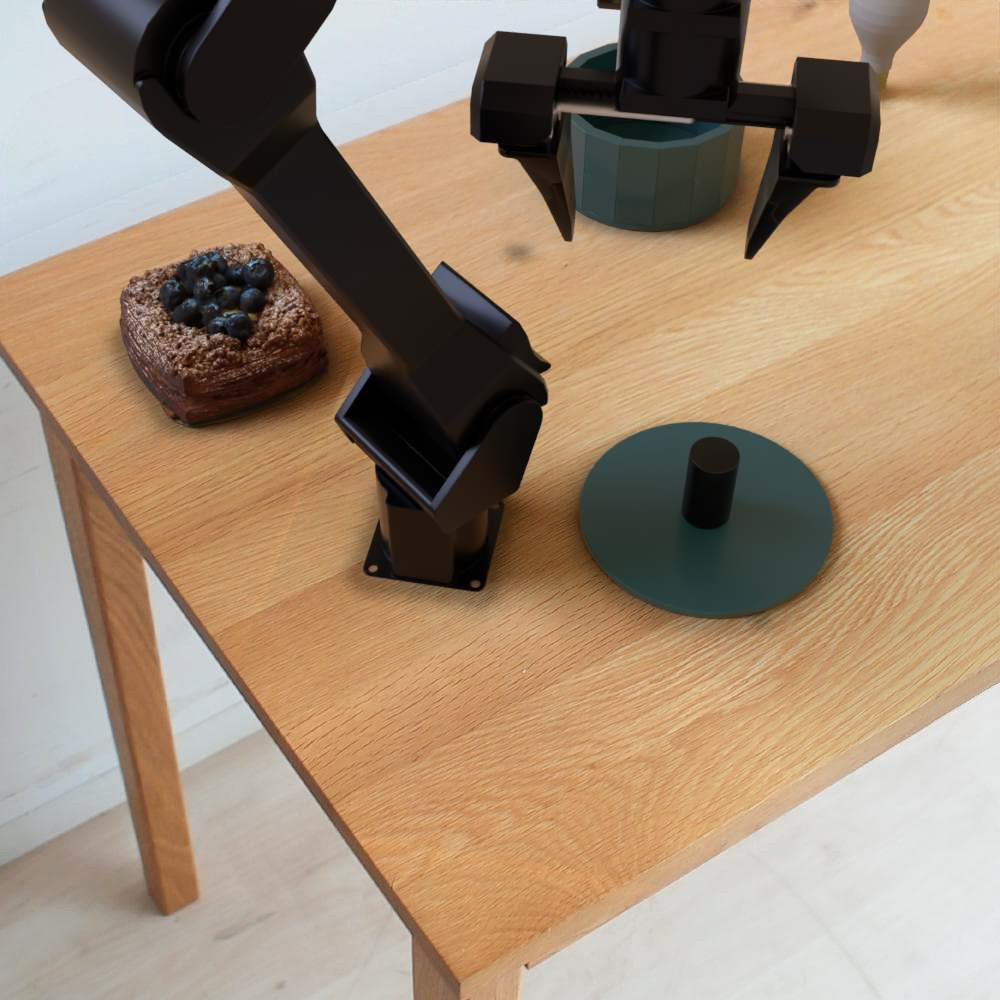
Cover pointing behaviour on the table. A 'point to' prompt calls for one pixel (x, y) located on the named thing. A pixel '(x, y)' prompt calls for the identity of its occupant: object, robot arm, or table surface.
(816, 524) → the lid
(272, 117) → the robot arm
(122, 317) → the pastry
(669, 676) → the table surface
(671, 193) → the pot
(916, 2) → the light bulb
